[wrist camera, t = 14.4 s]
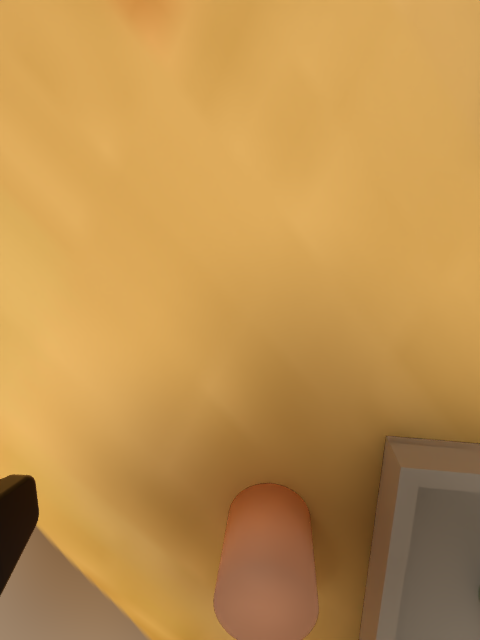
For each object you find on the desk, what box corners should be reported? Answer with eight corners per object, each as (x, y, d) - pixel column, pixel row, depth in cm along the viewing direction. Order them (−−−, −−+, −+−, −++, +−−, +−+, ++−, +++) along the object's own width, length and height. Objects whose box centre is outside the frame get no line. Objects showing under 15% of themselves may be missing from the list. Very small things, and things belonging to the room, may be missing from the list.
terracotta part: (313, 487, 21) (323, 567, 16) (307, 558, 22) (314, 654, 17) (230, 479, 22) (215, 556, 17) (227, 549, 22) (212, 642, 18)
